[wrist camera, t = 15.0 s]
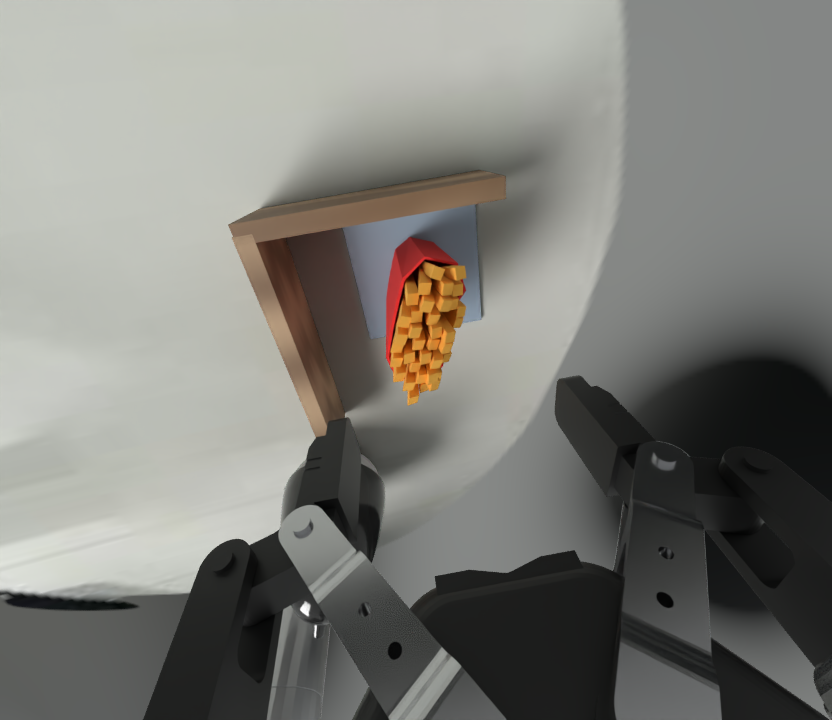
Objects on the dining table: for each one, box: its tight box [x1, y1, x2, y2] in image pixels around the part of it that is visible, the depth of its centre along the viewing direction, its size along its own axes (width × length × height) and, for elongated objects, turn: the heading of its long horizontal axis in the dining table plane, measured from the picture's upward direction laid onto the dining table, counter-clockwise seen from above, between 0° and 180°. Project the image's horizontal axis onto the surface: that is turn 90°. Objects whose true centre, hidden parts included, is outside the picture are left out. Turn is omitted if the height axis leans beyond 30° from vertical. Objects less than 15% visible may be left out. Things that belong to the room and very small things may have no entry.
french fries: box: [386, 237, 466, 405], centre depth 23 cm, size 8×4×12 cm, turn 168°
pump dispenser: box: [280, 454, 385, 639], centre depth 33 cm, size 10×10×15 cm
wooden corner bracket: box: [228, 170, 506, 437], centre depth 27 cm, size 20×16×6 cm
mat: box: [343, 204, 481, 339], centre depth 28 cm, size 10×10×1 cm
